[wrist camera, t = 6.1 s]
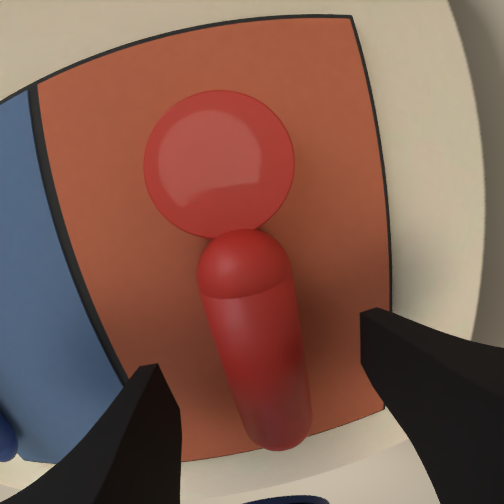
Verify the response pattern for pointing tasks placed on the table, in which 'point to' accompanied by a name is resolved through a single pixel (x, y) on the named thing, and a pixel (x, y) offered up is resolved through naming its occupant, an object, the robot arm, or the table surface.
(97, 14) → the table surface
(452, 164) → the table surface
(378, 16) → the table surface
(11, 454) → the blue spoon
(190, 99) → the red spoon
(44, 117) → the sorting mat
